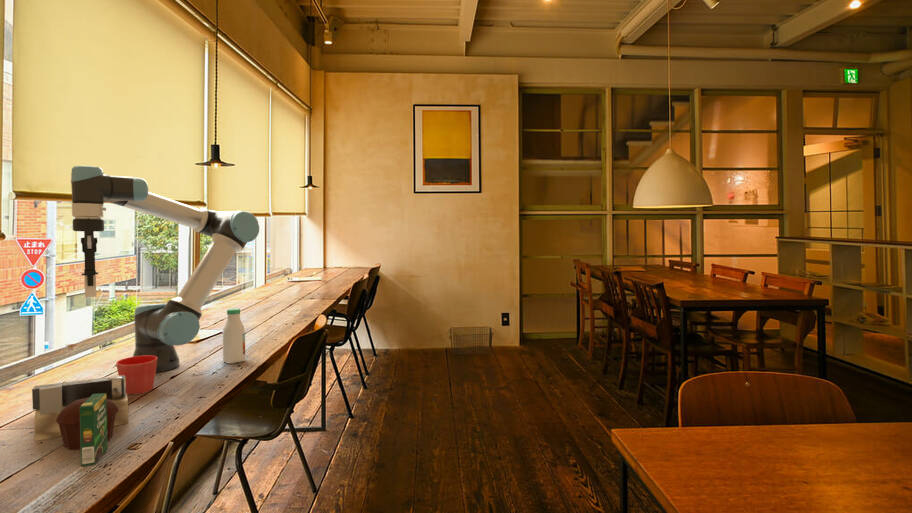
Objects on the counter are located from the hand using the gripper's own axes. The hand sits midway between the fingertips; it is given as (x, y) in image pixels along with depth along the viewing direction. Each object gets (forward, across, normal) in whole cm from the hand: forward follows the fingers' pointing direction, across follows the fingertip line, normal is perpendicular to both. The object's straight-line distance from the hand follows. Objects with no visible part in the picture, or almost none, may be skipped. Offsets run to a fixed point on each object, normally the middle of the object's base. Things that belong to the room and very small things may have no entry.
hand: (90, 296), depth 145 cm
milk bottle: (+30, +13, -43) cm, 54 cm away
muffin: (+30, -42, +1) cm, 51 cm away
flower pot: (+30, -6, -11) cm, 32 cm away
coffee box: (+30, -53, 0) cm, 61 cm away
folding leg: (+23, -30, +2) cm, 38 cm away
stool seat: (+29, -23, +2) cm, 37 cm away
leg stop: (+23, -34, +8) cm, 42 cm away
